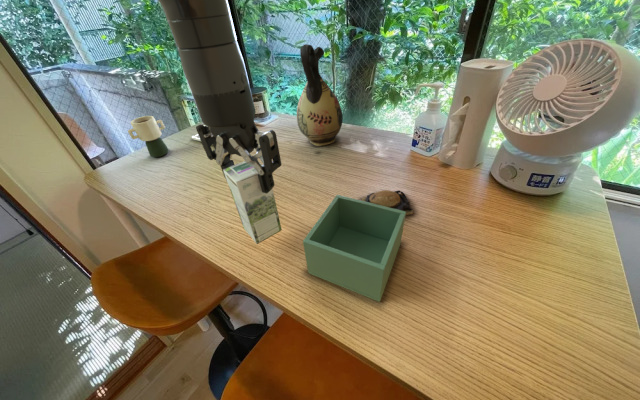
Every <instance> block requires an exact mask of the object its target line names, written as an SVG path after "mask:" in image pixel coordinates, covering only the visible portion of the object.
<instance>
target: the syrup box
mask: <svg viewBox="0 0 640 400" xmlns="http://www.w3.org/2000/svg"><path fill="white" fill-rule="evenodd" d="M258 162H259V163H260V164H261V166H262V165H263V163H261V162H260V161H258ZM223 171H224V174H225V177H226V178H225V177H224V178H225V181H226V180H227V181H226V184H227V185H228V188H229V191H230V193H231V197H232V199H233V202H234V205H235V207H236V210H237V213H238V216H239V218H240V219H239V220H240V221H241V224H242V227H243V229H244V231H245V232H246V233H247V235H248V236H249V237H250V238H251V239H252V241H254V243H255V244H256V245H258V244H261V243H262V242H264V241H266V240H267V239H269V238H271V237H273V236H274V235H277V234H278V233H280V232H282V225H281V221H280V215H279V212H278V207H277V203H276V198H275V193H274V189H273V188H274V187H273V188H272V189H271V190H270V191H269V192H268V193H263V192H262V190H261V186H260V182H259V179H258V172H257V171H256V170H255V168H254V167H253V166H252V165H251V164H248V163H247V162H246V161H245V160H244V161H241V162H238V163H234V165H233V166H230V167H228V168H225V169H223ZM223 171H222V172H223ZM224 174H223V175H224Z"/></svg>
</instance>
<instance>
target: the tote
mask: <svg viewBox="0 0 640 400" xmlns="http://www.w3.org/2000/svg"><path fill="white" fill-rule="evenodd" d="M406 216H407V215H406V212H405V211H401V210H397V209H393V208H389V207H385V206H381V205H377V204H373V203H369V202H365V201H362V199H357V198H352V197H349V196H345V195H341V194H336V195H335V196H334V198H333V199H332V200H331V201H330V203H329V204H328V206H327V207H326V209H325V210H324V211H323V213H322V214H321V216H320V217H319V218H318V220H317V221H316V222H315V224H314V225H313V227H311V229H310V231H308V233H307V234H306V237H304V239H303V240H302V245H303V251H304V256H305V261H306V268H307V273H308V274H309V275H312V276H314V277H317V278H319V279H322V280H324V281H326V282H329V283H331V284H334V285H337V286H339V287H342V288H343V289H347V290H348V291H351V292H354V293H356V294H359V295H361V296H363V297H366V298H368V299H371V300H374V301H376V302H378V303H380V302H381V300H382V298H383V294H384V292H385V289H386V286H387V284H388V282H389V281H388V280H389V278H390V275H391V272H392V269H393V266H394V264H395V260H396V258H397V256H398V252H399V250H400V246H401V243H402V238H403V237H402V236H403V231H404V226H405V220H406Z"/></svg>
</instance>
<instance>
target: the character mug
mask: <svg viewBox="0 0 640 400" xmlns="http://www.w3.org/2000/svg"><path fill="white" fill-rule="evenodd" d="M159 124H160V126H159ZM130 125H131V127H132V128H130V129H128V130H127V133H128V135H129V137H130V138H131V139H132V140H137V139H139V140H140V141H141V142H145V146H146V149H147V151H148V154H149V156H150V157H153V158H158V157H163V156H165V155H166V154H168V153H169V151H170V149H169V148H168V146H167V144H166V143H165V141H164V140H163V139H162V137H161V136H162V133H163V132H162V131H163V130H165V129H166V126H165V124H164V122H163V120H162V119H158V120H156V119H155V117H154V115H153V116H152V115H144V116H139V117H136V118H134V119H132V120H131V121H130ZM134 132H135V133H136V135H134Z"/></svg>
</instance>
